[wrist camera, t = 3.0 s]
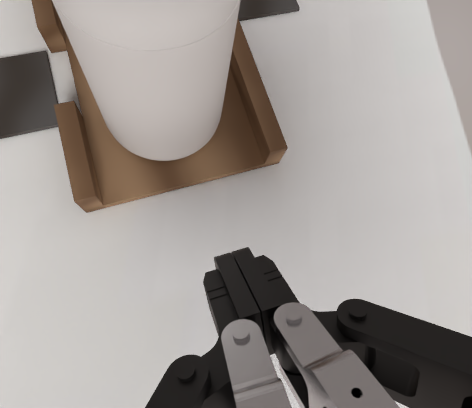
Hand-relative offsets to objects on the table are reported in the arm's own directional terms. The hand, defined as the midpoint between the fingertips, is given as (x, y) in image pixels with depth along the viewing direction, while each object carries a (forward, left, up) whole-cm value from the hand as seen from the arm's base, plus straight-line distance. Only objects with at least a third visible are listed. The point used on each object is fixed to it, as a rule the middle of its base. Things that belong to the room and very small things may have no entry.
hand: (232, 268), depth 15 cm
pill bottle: (0, +12, -8) cm, 14 cm away
